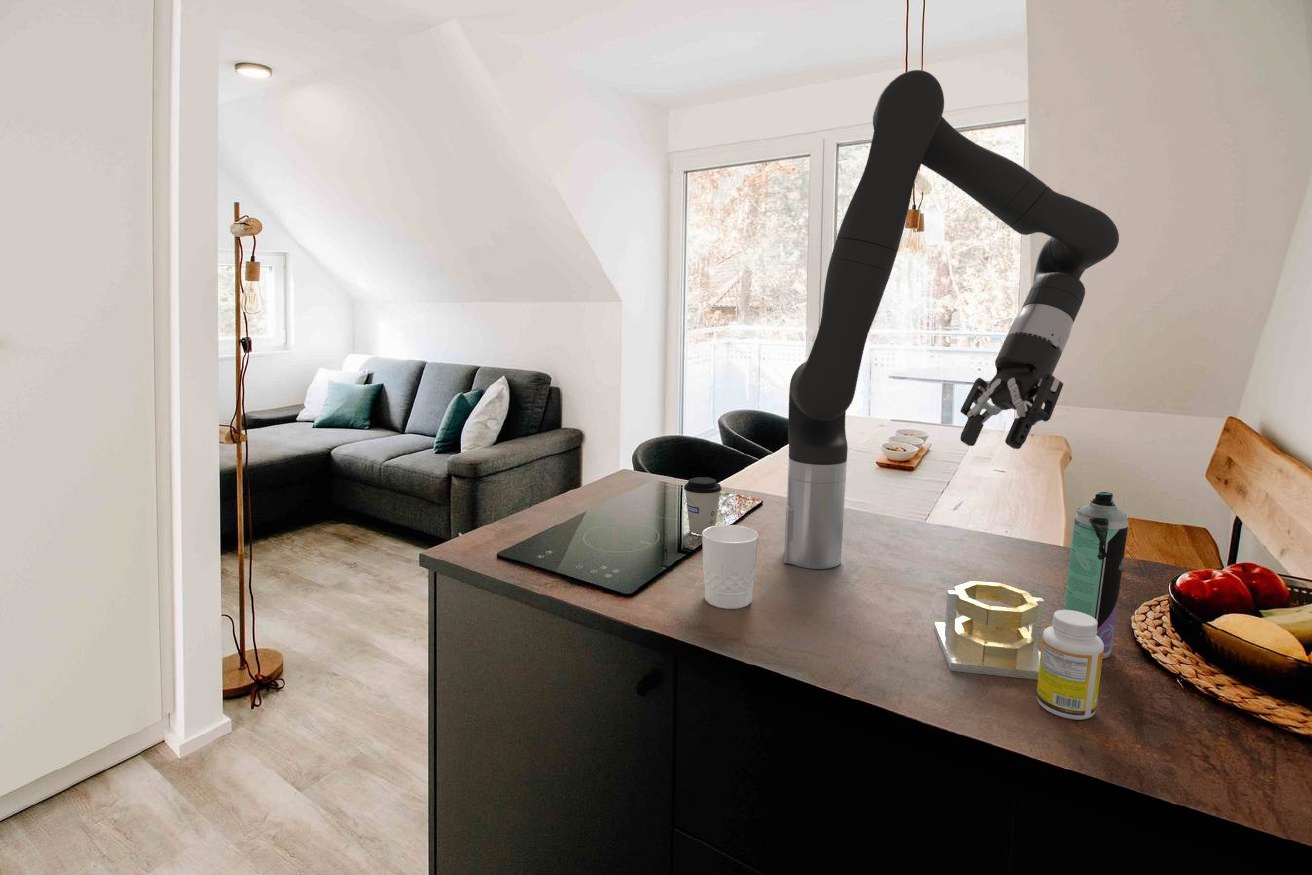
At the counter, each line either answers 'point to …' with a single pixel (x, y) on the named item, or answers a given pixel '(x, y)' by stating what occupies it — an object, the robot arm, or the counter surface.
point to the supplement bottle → (1070, 665)
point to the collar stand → (992, 631)
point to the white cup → (729, 565)
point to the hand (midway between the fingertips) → (988, 444)
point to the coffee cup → (702, 503)
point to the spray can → (1097, 564)
